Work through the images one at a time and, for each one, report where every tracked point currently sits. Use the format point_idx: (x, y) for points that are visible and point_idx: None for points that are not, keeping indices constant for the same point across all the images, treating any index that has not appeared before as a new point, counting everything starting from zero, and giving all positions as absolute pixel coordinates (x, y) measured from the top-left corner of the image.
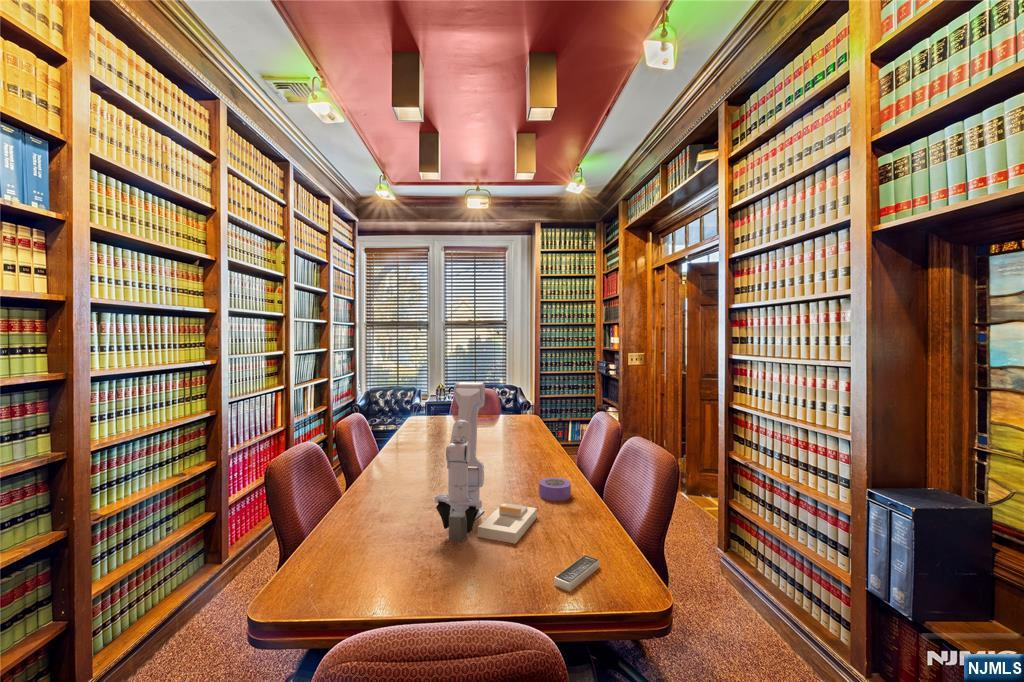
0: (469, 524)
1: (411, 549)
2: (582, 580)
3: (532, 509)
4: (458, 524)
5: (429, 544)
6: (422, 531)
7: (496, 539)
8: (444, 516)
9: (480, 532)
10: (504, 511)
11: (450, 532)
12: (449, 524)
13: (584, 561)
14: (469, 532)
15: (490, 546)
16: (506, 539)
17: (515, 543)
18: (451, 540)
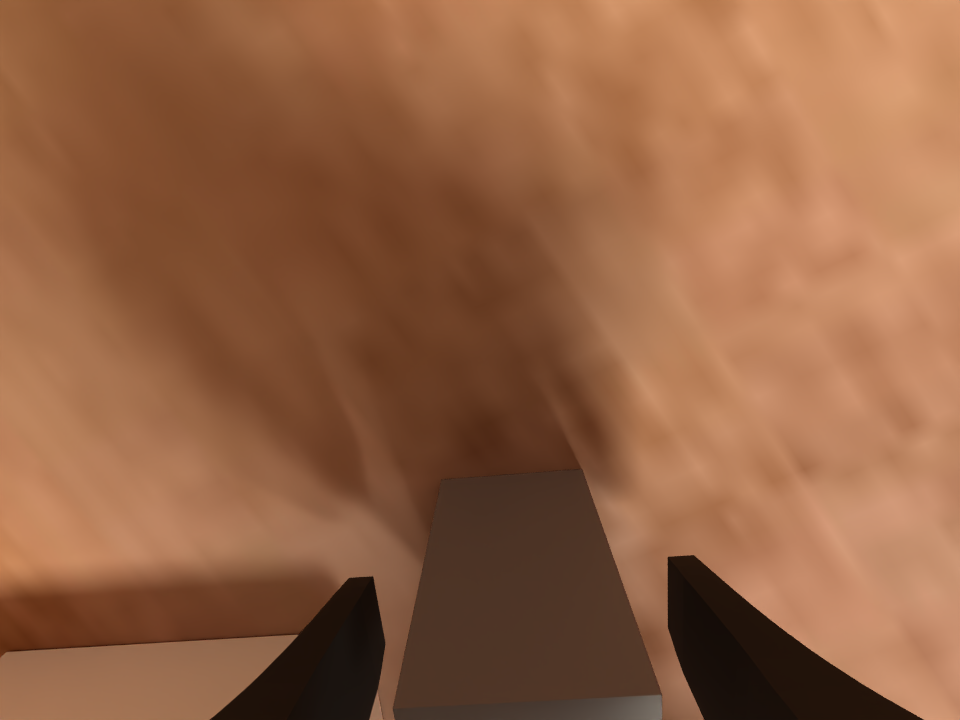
0: (281, 657)
1: (871, 102)
2: None
3: None
4: (458, 614)
5: (727, 305)
6: (955, 515)
7: (178, 647)
8: (764, 688)
9: None
10: None
11: (575, 518)
12: (611, 585)
13: None
14: (343, 585)
15: (152, 528)
16: (72, 666)
17: (8, 653)
18: (550, 472)
